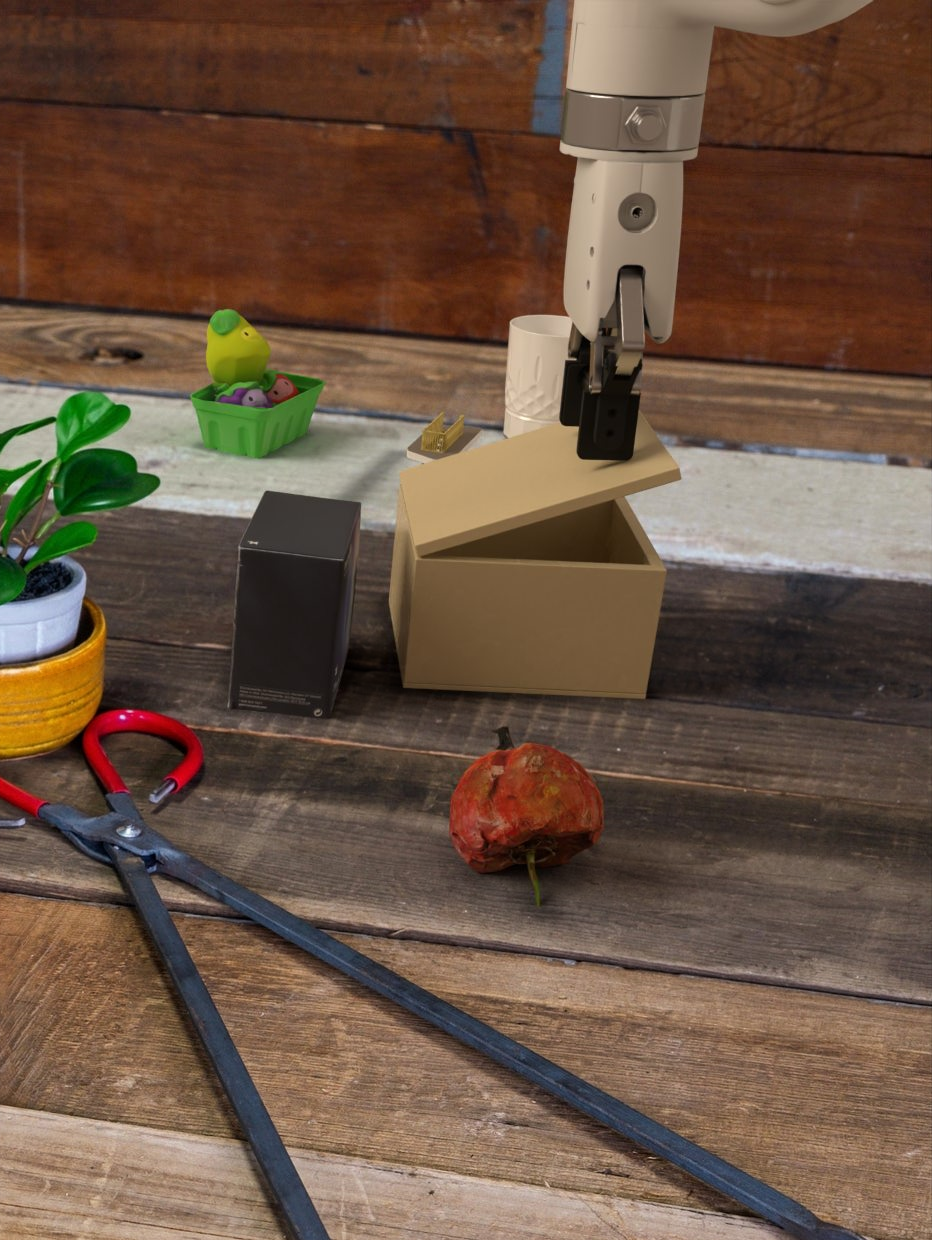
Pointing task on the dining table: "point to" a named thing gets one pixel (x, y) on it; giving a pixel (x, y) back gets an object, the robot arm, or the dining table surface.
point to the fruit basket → (249, 392)
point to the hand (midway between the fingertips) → (594, 438)
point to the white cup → (535, 372)
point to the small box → (293, 604)
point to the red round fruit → (524, 809)
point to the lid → (524, 483)
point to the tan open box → (531, 607)
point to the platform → (443, 440)
